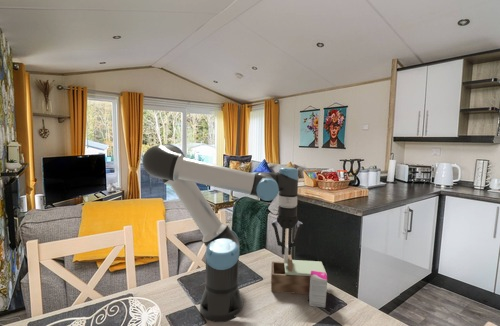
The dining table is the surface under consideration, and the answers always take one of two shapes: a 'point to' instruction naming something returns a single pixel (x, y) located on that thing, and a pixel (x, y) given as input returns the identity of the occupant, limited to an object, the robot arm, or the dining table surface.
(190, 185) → the robot arm
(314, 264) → the lid
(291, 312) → the dining table surface
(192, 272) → the dining table surface
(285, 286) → the box
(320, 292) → the supplement box
